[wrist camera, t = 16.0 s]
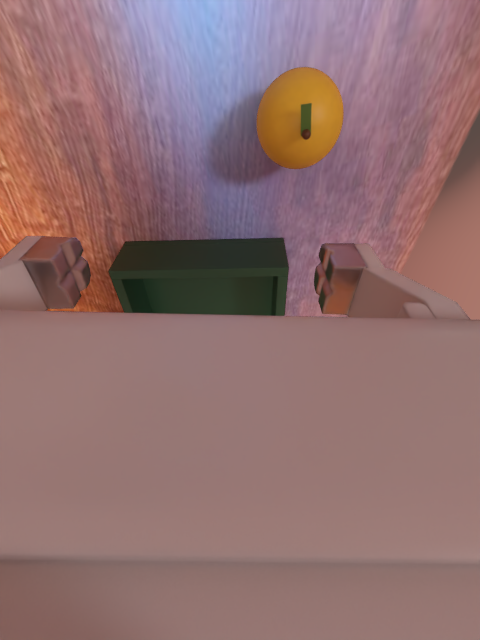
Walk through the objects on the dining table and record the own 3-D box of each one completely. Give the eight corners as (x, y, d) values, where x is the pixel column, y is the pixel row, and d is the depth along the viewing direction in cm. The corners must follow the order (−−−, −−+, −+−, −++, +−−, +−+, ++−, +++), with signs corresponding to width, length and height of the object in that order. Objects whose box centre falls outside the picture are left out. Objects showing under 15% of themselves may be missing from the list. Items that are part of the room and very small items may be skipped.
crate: (275, 350, 42) (278, 383, 38) (160, 351, 42) (151, 383, 38) (283, 237, 30) (288, 267, 26) (125, 241, 31) (107, 271, 27)
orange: (330, 150, 25) (351, 180, 20) (259, 160, 25) (262, 191, 20) (336, 56, 21) (364, 64, 16) (251, 71, 22) (253, 82, 16)
